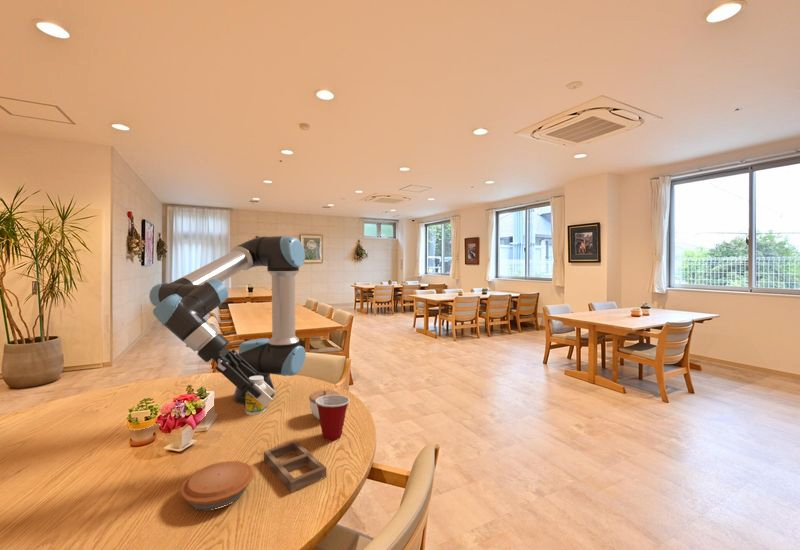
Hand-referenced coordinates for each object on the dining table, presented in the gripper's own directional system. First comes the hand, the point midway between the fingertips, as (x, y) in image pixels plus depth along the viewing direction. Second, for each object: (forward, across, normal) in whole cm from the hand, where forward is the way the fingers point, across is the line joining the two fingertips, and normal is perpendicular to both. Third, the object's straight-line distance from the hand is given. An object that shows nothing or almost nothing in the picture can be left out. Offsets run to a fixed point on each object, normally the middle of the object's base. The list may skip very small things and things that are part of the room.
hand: (269, 398), depth 101 cm
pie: (+5, +15, -19) cm, 25 cm away
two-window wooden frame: (+17, +8, -6) cm, 20 cm away
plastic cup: (+24, -8, +2) cm, 26 cm away
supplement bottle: (0, 0, -5) cm, 5 cm away
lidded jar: (+23, -22, 0) cm, 32 cm away
